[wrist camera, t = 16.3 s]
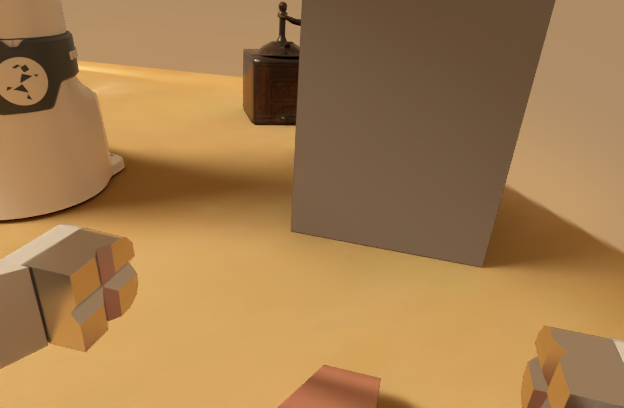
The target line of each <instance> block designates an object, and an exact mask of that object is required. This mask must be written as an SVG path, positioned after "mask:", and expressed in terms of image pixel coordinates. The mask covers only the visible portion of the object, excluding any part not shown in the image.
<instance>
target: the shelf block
mask: <svg viewBox="0 0 624 408" xmlns="http://www.w3.org/2000/svg"><path fill="white" fill-rule="evenodd" d="M554 4H555V0H302V14H301V35H300V54H299V74H298V95H297V115H296V136H295V156H294V177H293V197H292V217H291V231H293V232H298V233H304V234H309V235H314V236H319V237H325V238H330V239H335V240H340V241H346V242H351V243H356V244H362V245H367V246H372V247H377V248H383V249H388V250H393V251H399V252H404V253H409V254H414V255H420V256H425V257H430V258H436V259H441V260H446V261H451V262H457V263H462V264H467V265H472V266H478V267H482V266H483V263H484V259H485V255H486V252H487V248H488V245H489V241H490V237H491V234H492V230H493V226H494V223H495V219H496V215H497V212H498V208H499V204H500V201H501V197H502V193H503V190H504V186H505V183H506V179H507V175H508V171H509V168H510V164H511V161H512V157H513V153H514V150H515V146H516V142H517V139H518V135H519V131H520V128H521V124H522V120H523V117H524V113H525V110H526V106H527V102H528V99H529V95H530V91H531V87H532V84H533V80H534V77H535V73H536V69H537V66H538V62H539V59H540V55H541V51H542V48H543V44H544V40H545V36H546V32H547V29H548V26H549V22H550V18H551V15H552V11H553V7H554Z"/></svg>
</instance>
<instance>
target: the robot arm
mask: <svg viewBox="0 0 624 408" xmlns="http://www.w3.org/2000/svg"><path fill="white" fill-rule="evenodd" d="M76 57H77V51H76V47H75V46H74V42H73V37H72V34H71V33H70V32H69V31H67V30H66V26H65V20H64V14H63V8H62V2H61V0H0V220H9V219H18V218H26V217H32V216H37V215H42V214H47V213H51V212H55V211H58V210H62V209H65V208H68V207H71V206H74V205H76V204H79V203H81V202H83V201H86V200H88V199H89V198H91V197H93V196H95V195H96V194H98V193H99V192H100V191H102V190H103V189H104V188H105V187H106V185H107V184H108V182H109V179H110V178H111V177H112V175H114V174H116V173H117V172H119V171H121V170H122V169H123V168H124V167H125V164H124V160H123V158H122V157H121V156H119V155H116V154H113V153H111V152H109V147H108V142H107V138H106V133H105V128H104V123H103V119H102V114H101V110H100V105H99V101H98V97H97V95H96V93H95V92H93V91H92V90H91V89H89V88H88V87H86V86H85V85H83V84H82V83H81V82H80V81H79V80H78V78H77V77H76V74H77V73H78V72H79V70H78V64H77V58H76ZM134 256H135V255H134V249H133V244H132V242H131V241H130V240H129V239H128V238H126V237H122V236H118V235H114V234H109V233H105V232H101V231H97V230H92V229H88V228H83V227H79V226H74V225H69V224H61V225H58V226H56V227H54V228H53V229H51V230H49V231H48V232H46V233H44V234H43V235H41V236H39V237H38V238H36V239H34V240H33V241H31V242H29V243H28V244H26V245H24V246H23V247H21V248H19V249H18V250H16V251H14V252H13V253H11V254H9V255H8V256H6V257H4V258H3V259H1V260H0V369H1V368H3V367H5V366H7V365H9V364H11V363H13V362H15V361H17V360H19V359H21V358H23V357H25V356H28V355H30V354H32V353H34V352H36V351H38V350H40V349H42V348H44V347H46V346H48V343H50V344H54V345H58V346H62V347H66V348H70V349H75V350H79V351H83V352H86V351H87V350H88V349H89V348H90V347H91V346H92V345H93V344H94V343H95V342H96V341H97V340H98V339H99V338H100V337H101V336H102V335H103V334H104V333H105V332H106V331H107V330H108V321H110V320H113V319H115V318H118V317H120V316H122V315H123V314H124V313H125V312H126V311H127V310H128V309H129V308H130V307H131V305H132V303H133V301H134V298H135V296H136V294H137V287H138V278H137V273H136V271H135V270H134V269H133V267H132V266H131V265H130V262H131V260H132V259H133V257H134ZM535 345H536V350H537V354H538V357H536V358H534V359H532V360H531V361H529V362H528V363H527V367H526V370H525V373H524V376H523V382H522V390H521V400H522V408H624V340H619V339H613V338H604V337H599V336H594V335H589V334H584V333H579V332H574V331H569V330H564V329H559V328H554V327H549V326H543V328H542V329H541V330H540V332H539V334H538V336H537V339H536V342H535Z"/></svg>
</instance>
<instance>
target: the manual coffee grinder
mask: <svg viewBox="0 0 624 408" xmlns="http://www.w3.org/2000/svg"><path fill="white" fill-rule="evenodd" d="M286 9H287V4H286V3H285V2H280V4H279V10H280V11H279V12H278V17H279V18H280V24H279V26H280V27H279V37H278V39H277V41H272V42H270V43H268V44H266V45H264V46H262V47H261V48H260V49H244V52H243V54H244V55H243V108H244V111H245V112H246V114H247V116H248V117H249V119H250V121H251V122H252V123H253V124H255V125H265V124H294V123H296V115H297V95H298V74H299V54H300V47H299V46H297V45H296V44H294V43H293V42H287V41H286V38H285V20H288V21H289V22H291V23H292V24H295V25H299V26H301V20H299V19H294V18H292V17H289V16H287V12H286Z"/></svg>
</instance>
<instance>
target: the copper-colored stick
mask: <svg viewBox="0 0 624 408" xmlns="http://www.w3.org/2000/svg"><path fill="white" fill-rule="evenodd" d="M380 381H381V378H377V377H373V376H368V375H364V374H360V373H356V372H352V371H348V370H343V369H339V368H335V367H331V366H327V365H323V366H322V367H321V368H320V369H319V370H318V371H317V372H316V373H315V374H314V375H313V376H312V377H310V378H309V379H308V380H307V381H306V382H305V383H304V384H303V385H302V386H301V387H300V388H298V389H297V390H296V391H295V392H294V393H293V394H292V395H291V396H290V397H289V398H288V399H286V400H285V401H284V402H283V403H282V404H281V405H280V406H279V407H278V408H376V405H377V399H378V393H379V387H380Z"/></svg>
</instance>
